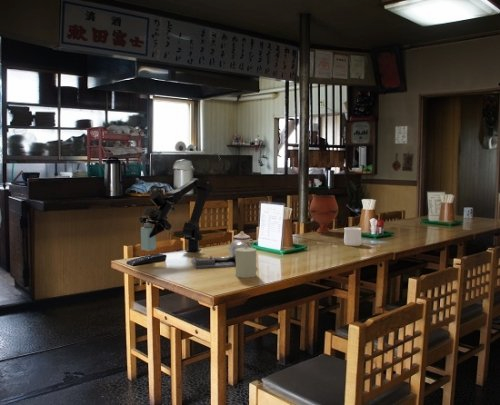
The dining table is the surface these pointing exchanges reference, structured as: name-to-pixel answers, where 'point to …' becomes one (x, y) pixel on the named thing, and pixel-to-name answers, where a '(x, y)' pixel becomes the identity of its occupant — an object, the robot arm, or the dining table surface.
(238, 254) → the can
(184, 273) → the dining table surface
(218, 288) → the dining table surface
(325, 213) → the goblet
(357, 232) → the cup
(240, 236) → the teacup with lid
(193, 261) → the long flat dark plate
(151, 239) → the pale teal bottle
